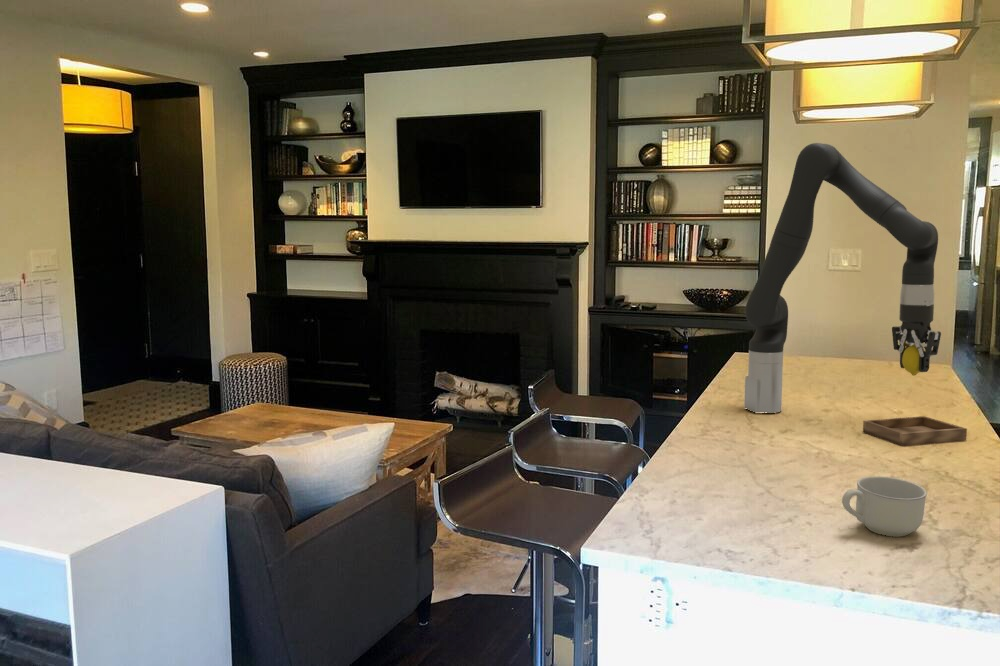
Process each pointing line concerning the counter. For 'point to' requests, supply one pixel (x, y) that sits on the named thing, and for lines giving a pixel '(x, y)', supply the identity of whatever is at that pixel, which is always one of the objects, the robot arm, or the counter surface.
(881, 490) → the teacup
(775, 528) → the counter surface
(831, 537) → the counter surface
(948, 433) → the tray
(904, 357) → the lemon
